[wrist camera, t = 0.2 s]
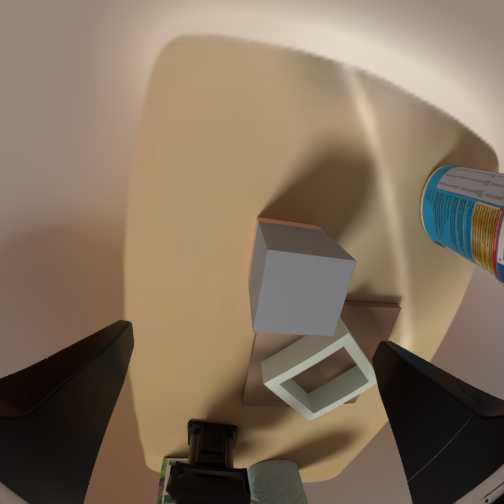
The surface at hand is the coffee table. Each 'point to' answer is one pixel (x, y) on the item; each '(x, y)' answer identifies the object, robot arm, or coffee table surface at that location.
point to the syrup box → (166, 479)
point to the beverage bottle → (467, 215)
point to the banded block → (297, 279)
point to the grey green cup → (276, 483)
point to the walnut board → (364, 332)
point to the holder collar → (306, 355)
